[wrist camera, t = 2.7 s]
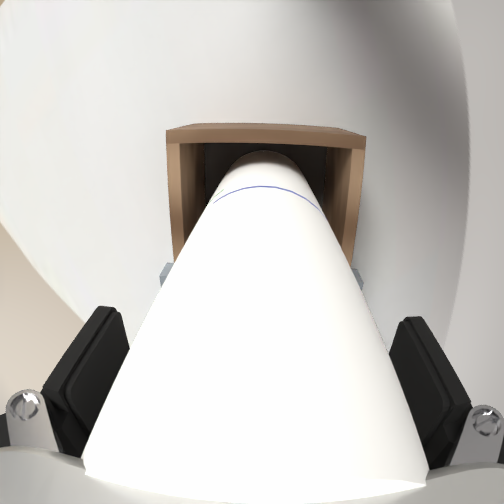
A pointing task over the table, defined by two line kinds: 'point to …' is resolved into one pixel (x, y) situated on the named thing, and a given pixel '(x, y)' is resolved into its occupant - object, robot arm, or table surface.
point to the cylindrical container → (259, 364)
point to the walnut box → (195, 135)
